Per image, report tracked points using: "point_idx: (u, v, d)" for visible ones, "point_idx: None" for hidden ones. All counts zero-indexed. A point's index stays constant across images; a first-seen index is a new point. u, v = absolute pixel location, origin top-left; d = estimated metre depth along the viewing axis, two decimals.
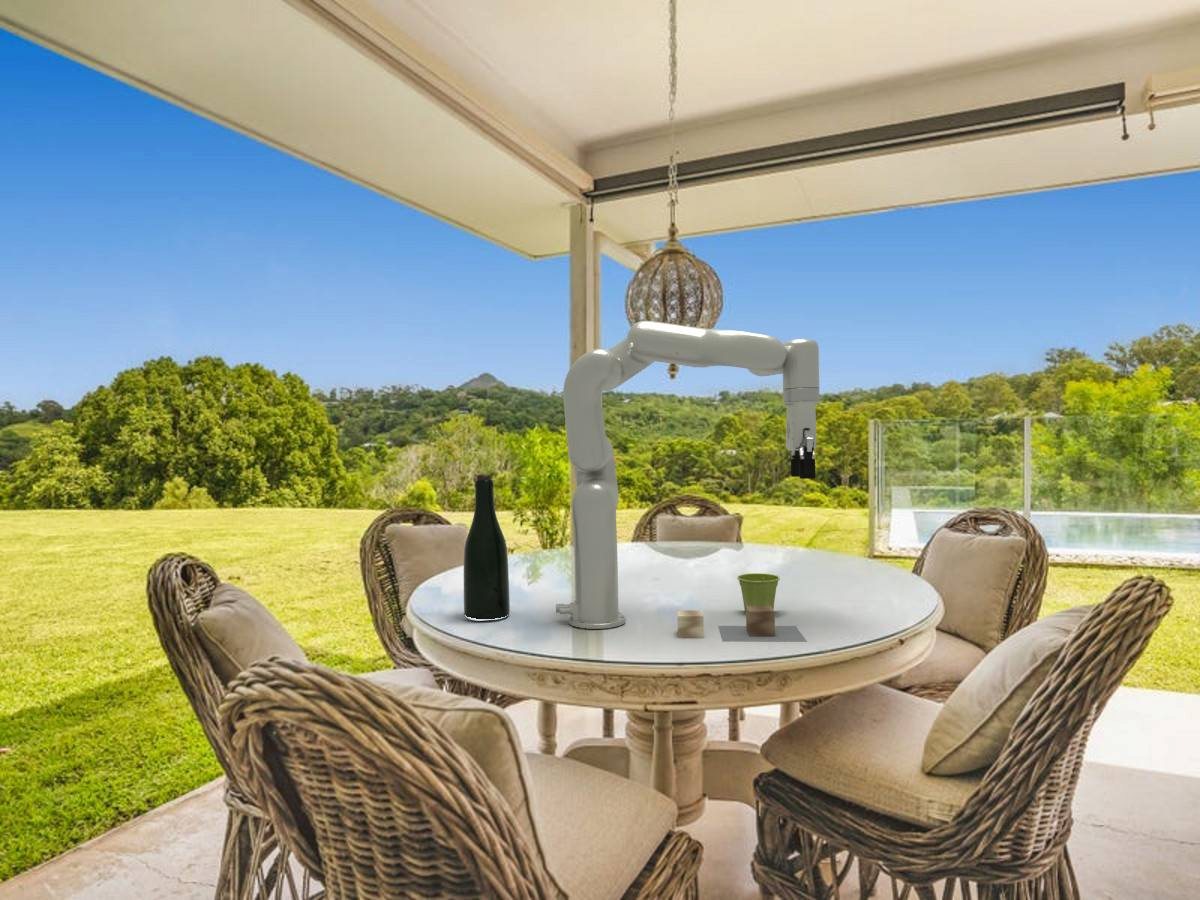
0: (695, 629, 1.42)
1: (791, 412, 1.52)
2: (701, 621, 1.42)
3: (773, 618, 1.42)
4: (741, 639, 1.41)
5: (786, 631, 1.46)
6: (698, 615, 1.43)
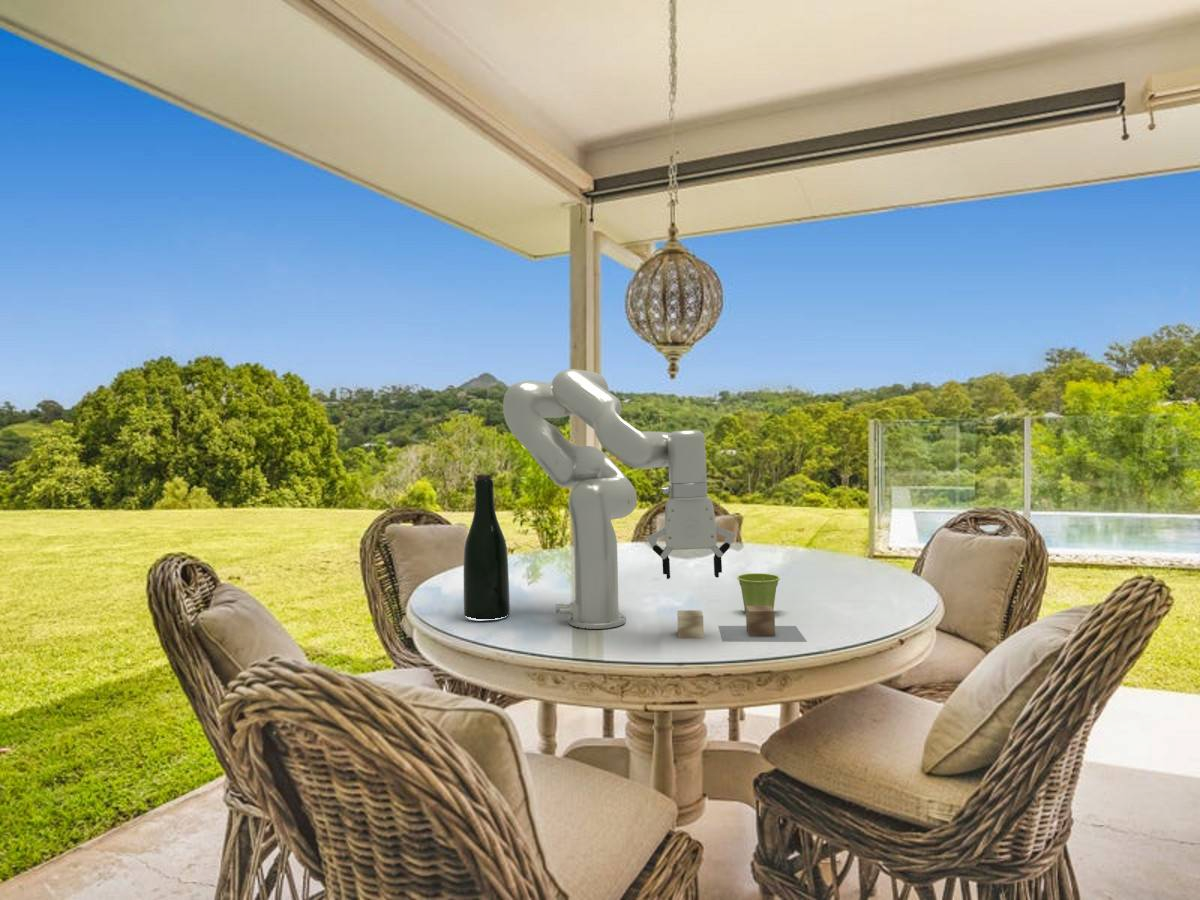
0: (695, 629, 1.42)
1: (704, 508, 1.42)
2: (701, 621, 1.42)
3: (773, 618, 1.42)
4: (741, 639, 1.41)
5: (786, 631, 1.46)
6: (698, 615, 1.43)
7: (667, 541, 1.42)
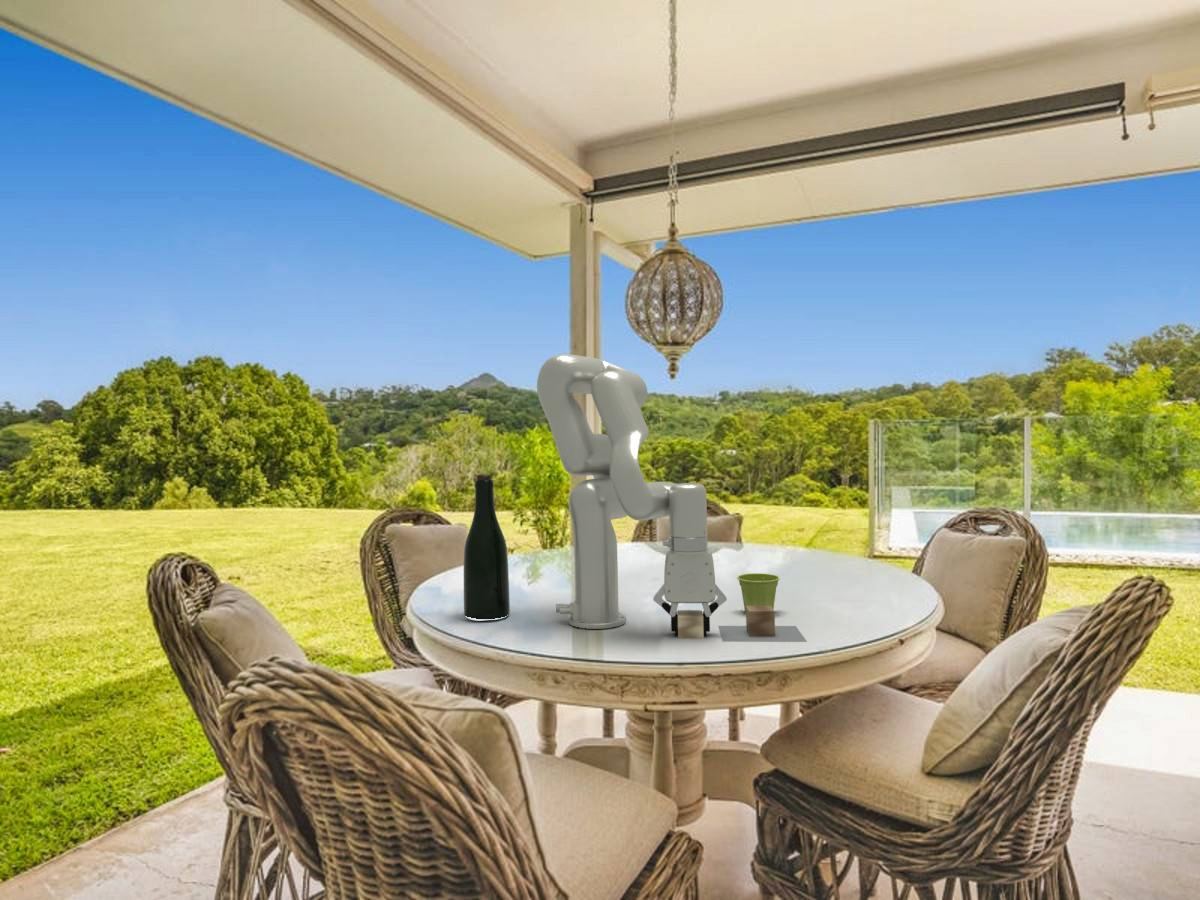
0: (695, 629, 1.42)
1: (704, 562, 1.42)
2: (701, 621, 1.42)
3: (773, 618, 1.42)
4: (741, 639, 1.41)
5: (786, 631, 1.46)
6: (698, 615, 1.43)
7: (666, 594, 1.43)
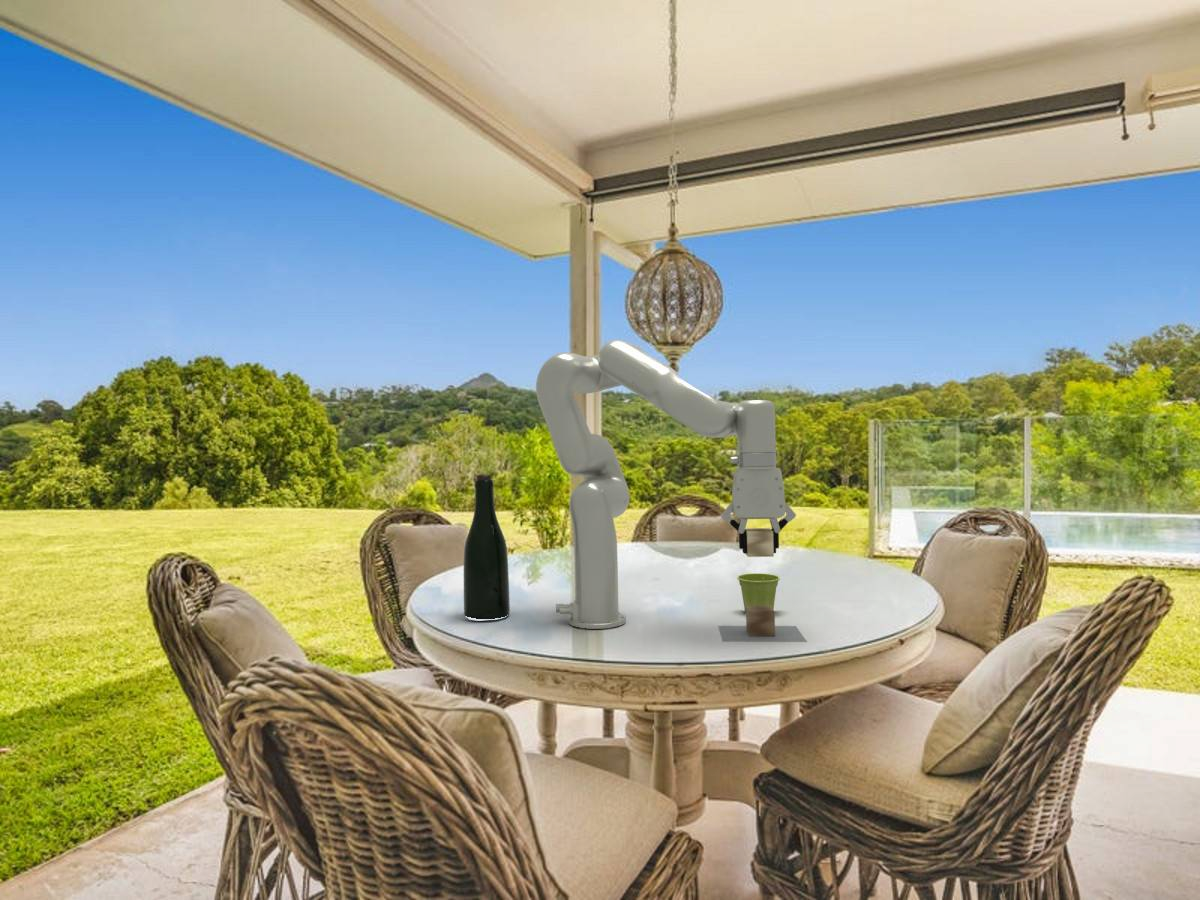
0: (765, 544, 1.42)
1: (773, 478, 1.42)
2: (771, 536, 1.42)
3: (773, 618, 1.42)
4: (741, 639, 1.41)
5: (786, 631, 1.46)
6: (767, 530, 1.43)
7: (735, 510, 1.42)
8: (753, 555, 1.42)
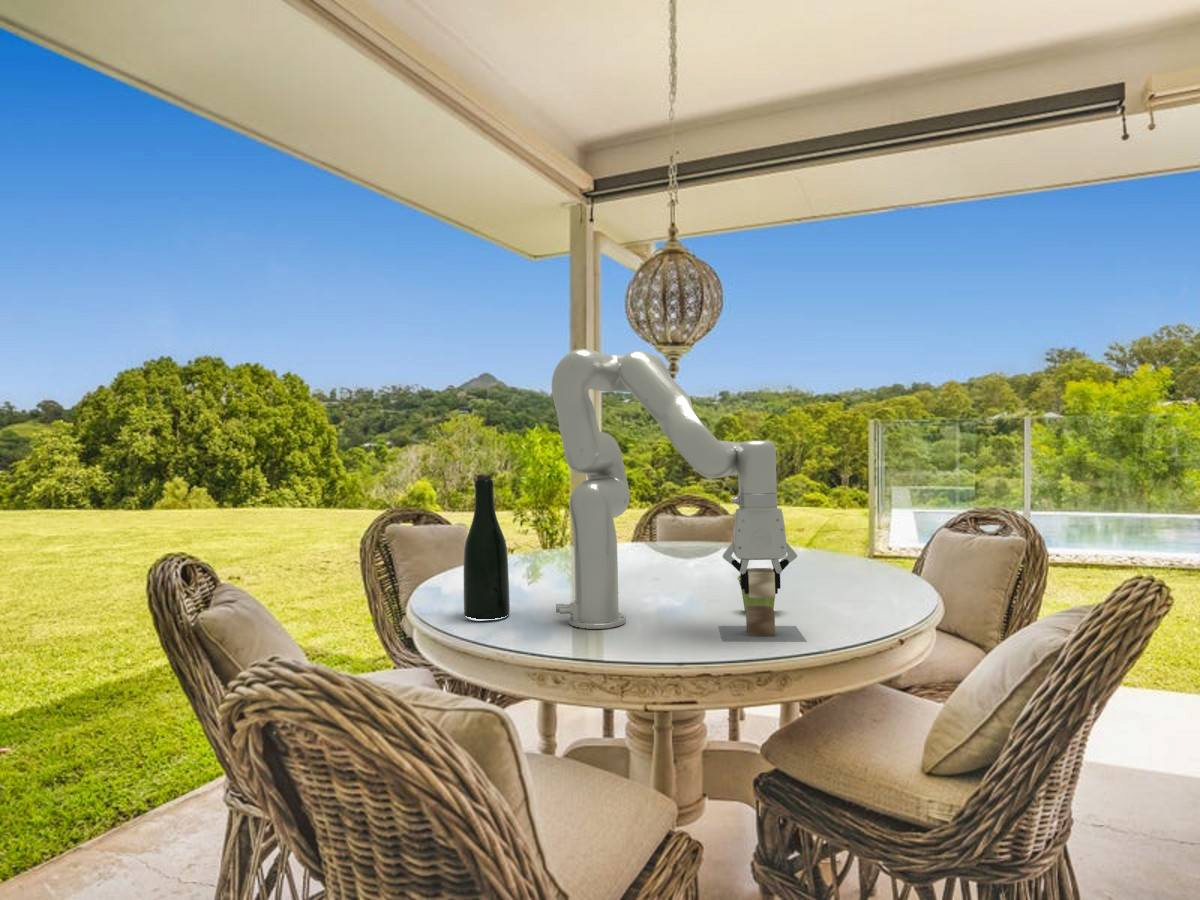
0: (767, 585, 1.42)
1: (774, 519, 1.42)
2: (772, 577, 1.42)
3: (773, 618, 1.42)
4: (741, 639, 1.41)
5: (786, 631, 1.46)
6: (769, 571, 1.43)
7: (737, 551, 1.42)
8: (755, 596, 1.42)
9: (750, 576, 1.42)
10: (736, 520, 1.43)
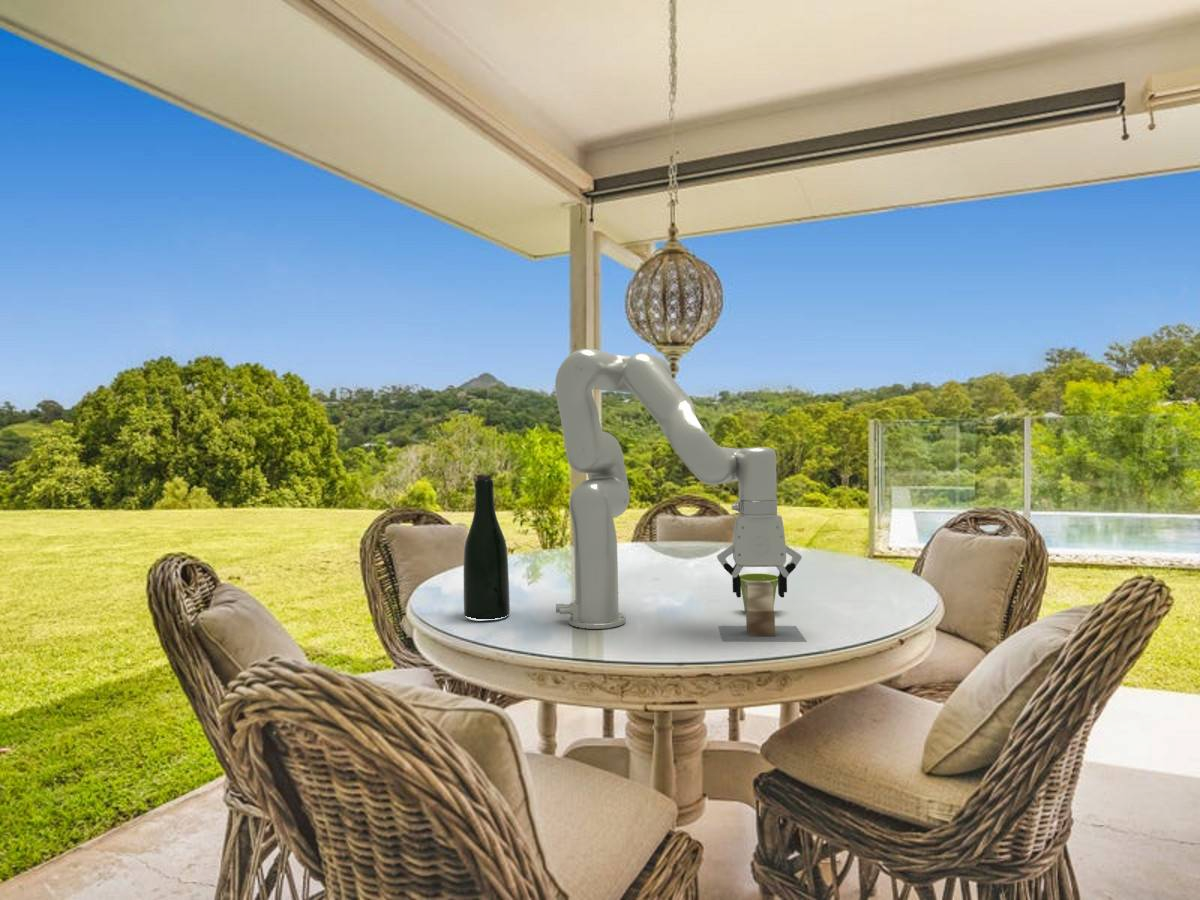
0: (765, 599, 1.42)
1: (774, 526, 1.42)
2: (771, 591, 1.42)
3: (773, 618, 1.42)
4: (741, 639, 1.41)
5: (786, 631, 1.46)
6: (768, 585, 1.43)
7: (736, 558, 1.42)
8: (753, 609, 1.42)
9: (749, 590, 1.42)
10: (736, 527, 1.43)
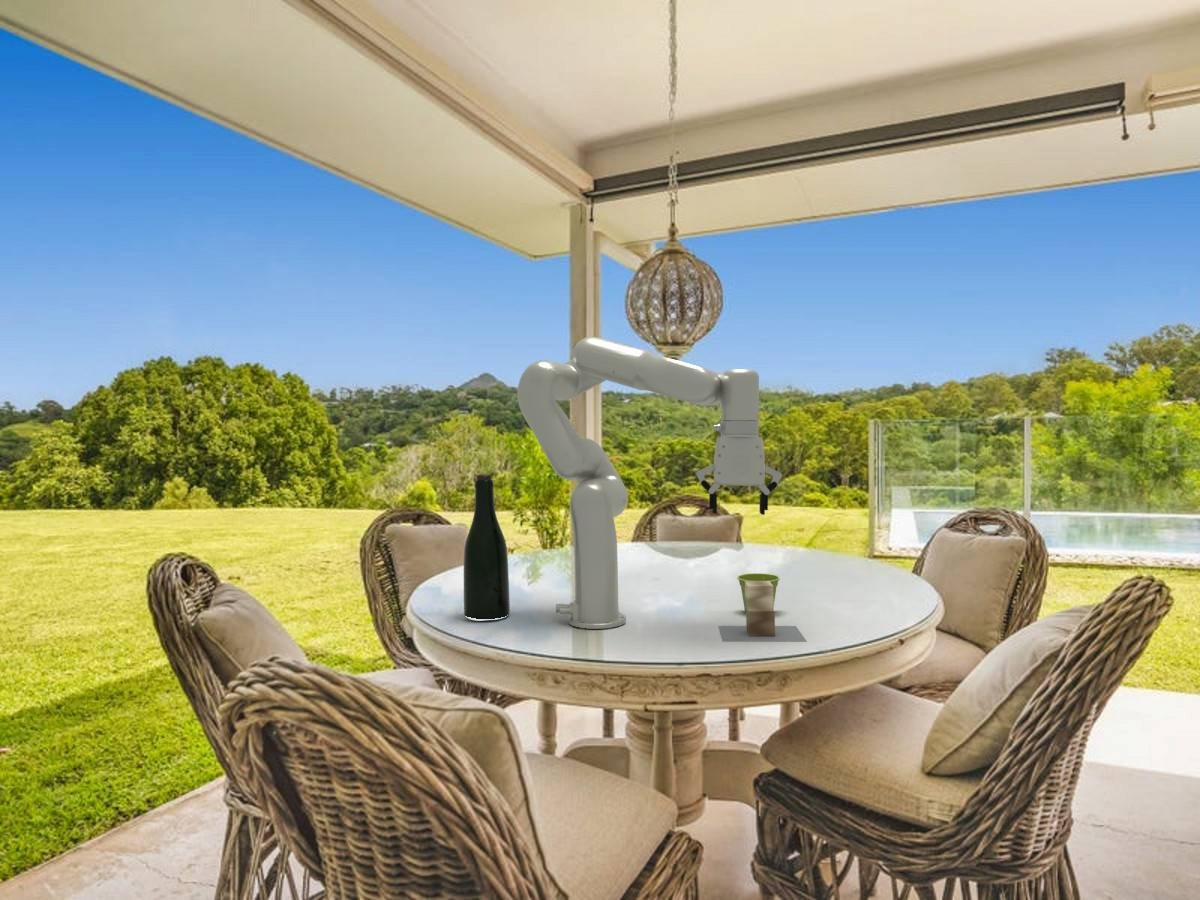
0: (765, 599, 1.42)
1: (754, 446, 1.45)
2: (771, 591, 1.42)
3: (773, 618, 1.42)
4: (741, 639, 1.41)
5: (786, 631, 1.46)
6: (768, 585, 1.43)
7: (716, 476, 1.46)
8: (753, 609, 1.42)
9: (749, 590, 1.42)
10: (717, 446, 1.46)
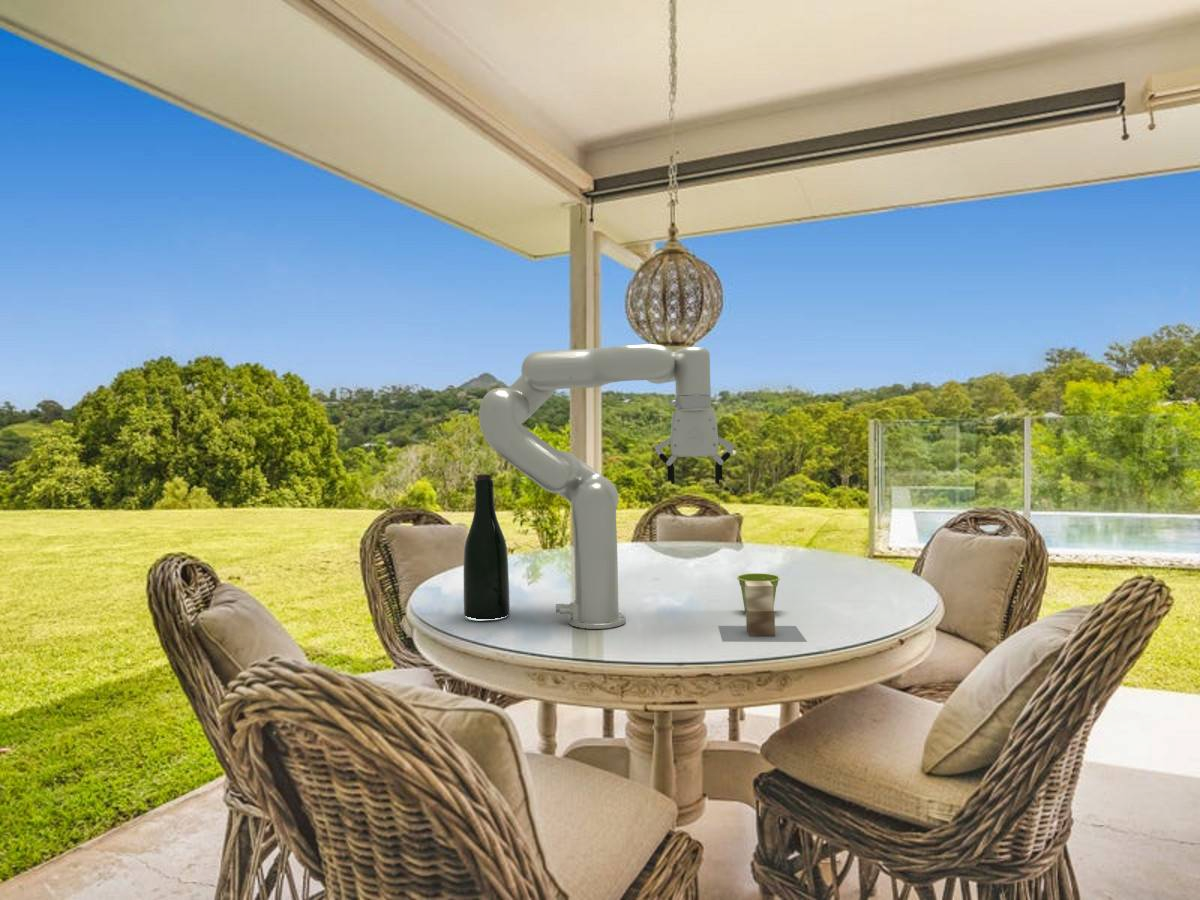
0: (765, 599, 1.42)
1: (707, 418, 1.54)
2: (771, 591, 1.42)
3: (773, 618, 1.42)
4: (741, 639, 1.41)
5: (786, 631, 1.46)
6: (768, 585, 1.43)
7: (672, 449, 1.54)
8: (753, 609, 1.42)
9: (749, 590, 1.42)
10: (672, 420, 1.55)
